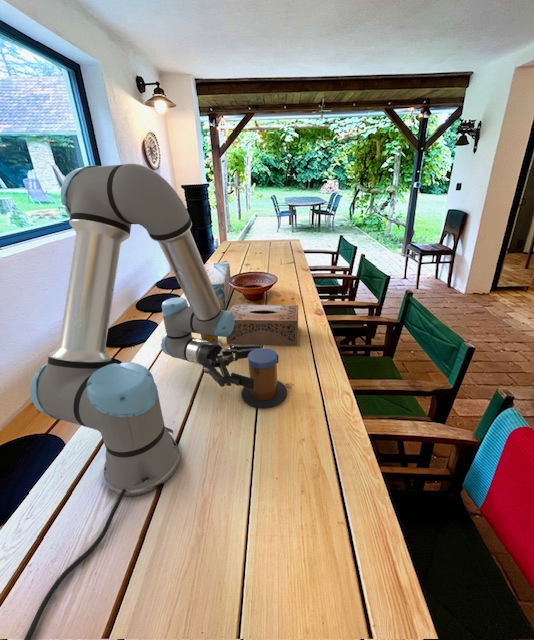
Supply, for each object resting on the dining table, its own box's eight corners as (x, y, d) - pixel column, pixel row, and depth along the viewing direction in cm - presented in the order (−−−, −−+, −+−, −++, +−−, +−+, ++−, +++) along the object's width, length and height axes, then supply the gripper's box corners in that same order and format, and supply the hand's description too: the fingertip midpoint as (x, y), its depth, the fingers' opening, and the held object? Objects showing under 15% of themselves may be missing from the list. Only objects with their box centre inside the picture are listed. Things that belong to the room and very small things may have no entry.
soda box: (227, 310, 149) (224, 283, 143) (196, 311, 148) (193, 285, 143) (231, 283, 186) (229, 261, 180) (207, 284, 185) (204, 262, 180)
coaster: (279, 412, 84) (279, 410, 84) (234, 403, 88) (233, 401, 88) (292, 384, 95) (292, 382, 95) (251, 377, 99) (251, 375, 99)
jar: (272, 402, 87) (271, 366, 82) (246, 397, 89) (244, 362, 84) (280, 386, 93) (280, 351, 89) (256, 381, 96) (254, 348, 91)
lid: (271, 371, 82) (271, 365, 82) (243, 366, 85) (243, 360, 84) (280, 355, 89) (280, 350, 88) (254, 351, 92) (254, 346, 91)
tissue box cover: (298, 328, 129) (298, 305, 125) (297, 345, 116) (297, 320, 112) (235, 327, 132) (233, 304, 128) (227, 344, 119) (224, 319, 115)
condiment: (222, 344, 119) (219, 314, 114) (201, 351, 115) (196, 321, 110) (214, 337, 124) (210, 308, 119) (193, 343, 120) (189, 314, 115)
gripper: (230, 346, 109) (286, 360, 99) (177, 385, 89) (241, 408, 79) (228, 326, 106) (286, 339, 96) (173, 362, 86) (239, 383, 76)
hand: (266, 370), depth 87 cm, fingers open, 13 cm apart
